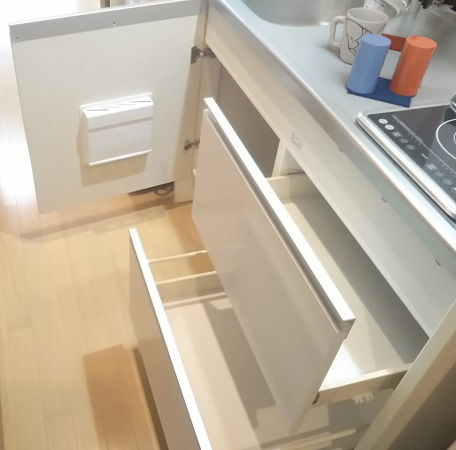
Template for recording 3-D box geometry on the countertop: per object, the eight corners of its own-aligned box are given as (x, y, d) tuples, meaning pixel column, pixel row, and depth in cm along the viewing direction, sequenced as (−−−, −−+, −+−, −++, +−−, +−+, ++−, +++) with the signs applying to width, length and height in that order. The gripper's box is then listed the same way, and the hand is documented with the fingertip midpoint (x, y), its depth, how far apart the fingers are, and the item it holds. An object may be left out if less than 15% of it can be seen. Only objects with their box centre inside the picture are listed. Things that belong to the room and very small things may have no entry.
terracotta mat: (407, 39, 126) (408, 38, 126) (404, 52, 120) (404, 50, 120) (365, 31, 129) (366, 29, 129) (360, 43, 123) (361, 41, 123)
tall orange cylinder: (418, 87, 107) (437, 39, 100) (415, 98, 103) (436, 50, 96) (390, 80, 109) (407, 33, 102) (386, 92, 105) (404, 44, 98)
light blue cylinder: (376, 84, 107) (392, 37, 100) (372, 96, 103) (389, 48, 96) (348, 78, 109) (363, 31, 102) (343, 89, 105) (358, 41, 98)
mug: (316, 56, 117) (327, 11, 110) (331, 44, 122) (343, 0, 115) (365, 71, 112) (380, 25, 105) (378, 58, 117) (394, 14, 110)
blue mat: (413, 86, 108) (414, 84, 108) (409, 107, 101) (409, 106, 101) (355, 73, 111) (355, 71, 111) (347, 93, 105) (347, 91, 104)
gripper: (444, -37, 113) (418, -19, 104) (514, -20, 107) (493, 0, 98) (431, -1, 119) (404, 18, 109) (496, 16, 112) (475, 38, 103)
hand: (446, 9), depth 104 cm, fingers open, 8 cm apart
